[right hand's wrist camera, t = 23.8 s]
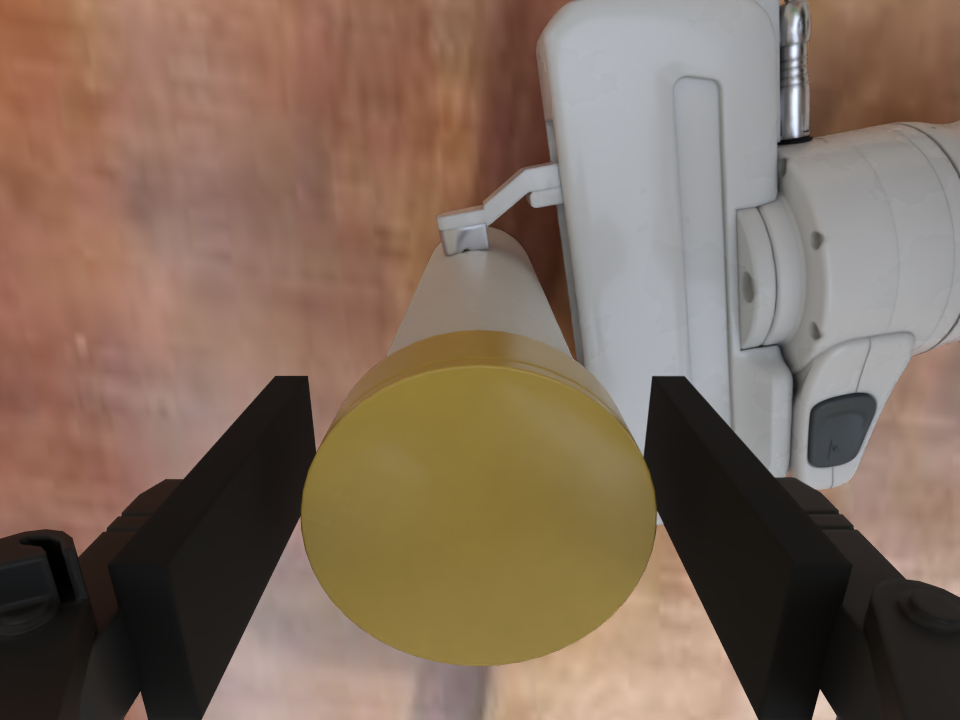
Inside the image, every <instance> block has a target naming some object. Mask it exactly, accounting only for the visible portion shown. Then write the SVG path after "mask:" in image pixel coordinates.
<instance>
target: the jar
mask: <svg viewBox="0 0 960 720" xmlns="http://www.w3.org/2000/svg"><path fill="white" fill-rule="evenodd" d="M487 232H488V238H489V246H490V249H484V250H479V251H470V250H468V249H465V250H464V251H463V252H462V253H459V254H456V255H449V256H446V255H444V252H443V247H442V243H441V242H440V243H439V245H438V246H437V247H436V248H435V250H434V252H433V253H432V255H431V257H430V259H429V262H428V264H427V266H426V268H425V271H424V273H423V275H422V277H421V280H420V282H419V284H418V286H417V289H416V291H415V293H414V296H413V298H412V300H411V302H410V305H409V307H408V309H407V311H406V314H405V316H404V318H403V320H402V323H401V325H400V327H399V329H398V332H397V334H396V336H395V338H394V341H393V343H392V345H391V347H390V350H389V352H388V354H387V356H386V358H387V357H388V356H390V355H391V354H393V353H394V352H396V351H398V350H400V349H402V348H404V347H406V346H408V345H410V344H412V343H415V342H417V341H420V340H423V339H426V338H429V337H432V336H436V335H440V334H446V333H451V332H456V331H470V330H488V331H502V332H507V333H512V334H517V335H522V336H526V337H529V338H532V339H535V340H538V341H541V342H543V343H546V344H548V345H550V346H552V347H554V348H556V349H558V350H560V351H562V352H564V353H565V354H567V355H568V356H570V357H571V358H572V355H571V353H570V351H569V348H568V346H567V344H566V342H565V339H564V337H563V335H562V332H561V330H560V328H559V326H558V323H557V321H556V319H555V316H554V314H553V312H552V310H551V307H550V305H549V303H548V301H547V298H546V296H545V294H544V291H543V289H542V287H541V285H540V282H539V280H538V278H537V275H536V273H535V271H534V269H533V266H532V264H531V262H530V259H529V257H528V255H527V253H526V252H525V250H524V249H523V247H522V246H521V245H520V244H519V243H518V241H517V240H515V239H514V238H513V237H512V236H510V235H509V234H507V233H506V232H503V231H501V230H499V229H496V228H493V227H487Z"/></svg>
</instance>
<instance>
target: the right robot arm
mask: <svg viewBox="0 0 960 720" xmlns="http://www.w3.org/2000/svg"><path fill="white" fill-rule="evenodd" d="M315 455H316V447H315V437H314V428H313V419H312V410H311V400H310V391H309V382H308V376H275V377H274V378H273V379H272V380H271V381H270V383H269V384H268V385H267V386H266V387H265V388H264V389H263V390H262V392H261V393H260V394H259V395H258V396H257V397H256V398H255V399H254V401H253V402H252V403H251V404H250V405H249V406H248V407H247V408H246V410H245V411H244V412H243V413H242V414H241V415H240V416H239V417H238V419H237V420H236V421H235V422H234V423H233V424H232V425H231V426H230V428H229V429H228V430H227V431H226V432H225V433H224V434H223V435H222V437H221V438H220V439H219V440H218V441H217V442H216V443H215V444H214V446H213V447H212V448H211V449H210V450H209V451H208V452H207V453H206V455H205V456H204V457H203V458H202V459H201V460H200V461H199V462H198V464H197V465H196V466H195V467H194V468H193V469H192V470H191V471H190V473H189V474H188V475H187V476H186V477H185V478H184V479H165V480H164V481H162V482H160V483H159V484H157V485H155V486H153V487H152V488H150V489H148V490H147V491H145V492H143V493H142V494H140V495H139V496H138V497H137V498H136V499H135V500H134V501H133V502H132V503H131V504H130V505H129V506H128V507H127V508H126V509H125V510H124V511H123V512H122V516H121V517H117V518H116V519H115V520H114V521H113V522H112V523H111V524H110V526H109V527H108V528H107V532H103V533H102V534H101V535H100V536H99V537H98V538H97V539H96V540H95V541H94V542H93V543H92V544H91V545H90V546H89V547H88V548H87V549H86V550H85V551H84V552H83V553H82V554H81V555H80V556H79V557H78V556H77V552H76V549H75V545H74V542H73V538H72V537H70V536H69V535H67V534H66V533H65V532H63V531H56V530H48V529H44V530H36V531H27V532H22V533H19V534H15V535H12V536H8V537H5V538H1V539H0V720H124V717H125V715H126V714H127V712H128V710H129V709H130V707H131V705H132V704H133V702H134V701H135V699H136V697H137V696H138V694H139V693H140V691H141V694H142V698H143V702H144V705H145V709H146V713H147V717H148V720H202V718H203V716H204V713H205V711H206V709H207V707H208V705H209V703H210V701H211V699H212V697H213V695H214V693H215V691H216V689H217V687H218V685H219V683H220V680H221V678H222V676H223V674H224V672H225V670H226V668H227V666H228V664H229V662H230V660H231V658H232V656H233V654H234V652H235V650H236V648H237V645H238V643H239V641H240V639H241V637H242V635H243V633H244V631H245V629H246V627H247V625H248V623H249V621H250V619H251V617H252V615H253V613H254V610H255V608H256V606H257V604H258V602H259V600H260V598H261V596H262V594H263V592H264V590H265V588H266V586H267V584H268V582H269V580H270V577H271V575H272V573H273V571H274V569H275V567H276V565H277V563H278V561H279V559H280V557H281V555H282V553H283V551H284V549H285V547H286V545H287V542H288V540H289V538H290V536H291V534H292V532H293V530H294V528H295V526H296V524H297V522H298V520H299V518H300V516H301V502H302V493H303V488H304V484H305V481H306V477H307V473H308V470H309V468H310V466H311V463H312V461H313V459H314V457H315ZM643 458H644V460H645V462H646V464H647V467H648V469H649V471H650V475H651V478H652V482H653V486H654V489H655V496H656V505H657V512H658V514H659V516H660V518H661V520H662V522H663V524H664V526H665V528H666V530H667V532H668V534H669V536H670V538H671V540H672V542H673V545H674V547H675V549H676V551H677V553H678V555H679V557H680V559H681V561H682V563H683V565H684V567H685V569H686V571H687V573H688V575H689V578H690V580H691V582H692V584H693V586H694V588H695V590H696V592H697V594H698V596H699V598H700V600H701V602H702V604H703V606H704V608H705V610H706V613H707V615H708V617H709V619H710V621H711V623H712V625H713V627H714V629H715V631H716V633H717V635H718V637H719V639H720V641H721V643H722V645H723V648H724V650H725V652H726V654H727V656H728V658H729V660H730V662H731V664H732V666H733V668H734V670H735V672H736V674H737V676H738V678H739V681H740V683H741V685H742V687H743V689H744V691H745V693H746V695H747V697H748V699H749V701H750V703H751V705H752V707H753V709H754V711H755V713H756V716H757V718H758V720H812V717H813V713H814V709H815V705H816V702H817V698H818V694H819V690H821V691H822V693H823V694H824V696H825V698H826V699H827V701H828V702H829V704H830V706H831V707H832V709H833V710H834V712H835V714H836V715H837V717H836V720H960V597H958V596H956V595H954V594H952V593H950V592H948V591H946V590H944V589H942V588H939V587H936V586H933V585H930V584H927V583H924V582H920V581H914V580H906V579H905V578H904V577H903V576H902V575H901V574H900V573H899V572H898V571H897V570H896V569H895V568H894V567H893V566H892V565H891V564H890V563H889V561H888V560H887V559H886V558H885V557H884V556H883V555H882V554H881V553H880V552H879V551H878V550H877V549H876V548H875V547H874V546H873V545H872V544H871V543H870V542H869V541H868V540H867V539H866V538H865V537H864V536H863V535H862V534H861V533H860V532H859V531H858V530H854V528H853V527H854V526H853V525H852V524H851V523H850V522H849V521H848V520H847V519H846V518H845V517H844V516H843V515H842V514H839V511H838V510H837V509H836V508H835V507H834V506H833V505H832V503H831V502H830V501H829V500H828V499H827V498H826V497H825V496H824V495H823V494H822V493H820V492H819V491H817V490H815V489H814V488H812V487H810V486H809V485H807V484H805V483H803V482H802V481H800V480H798V479H797V478H795V477H774V476H773V475H772V474H771V473H770V471H769V470H768V469H767V468H766V467H765V466H764V465H763V464H762V462H761V461H760V460H759V459H758V458H757V457H756V456H755V455H754V453H753V452H752V451H751V450H750V449H749V448H748V447H747V446H746V444H745V443H744V442H743V441H742V440H741V439H740V438H739V437H738V435H737V434H736V433H735V432H734V431H733V430H732V429H731V428H730V426H729V425H728V424H727V423H726V422H725V421H724V420H723V419H722V417H721V416H720V415H719V414H718V413H717V412H716V411H715V410H714V408H713V407H712V406H711V405H710V404H709V403H708V402H707V401H706V399H705V398H704V397H703V396H702V395H701V394H700V393H699V392H698V390H697V389H696V388H695V387H694V386H693V385H692V384H691V383H690V381H689V380H688V379H687V378H686V377H685V376H652V382H651V391H650V400H649V410H648V419H647V428H646V437H645V447H644V456H643Z"/></svg>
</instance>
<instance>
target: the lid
mask: <svg viewBox="0 0 960 720" xmlns="http://www.w3.org/2000/svg"><path fill="white" fill-rule="evenodd" d="M656 525H657V505H656V496H655V489H654V486H653V482H652V478H651V475H650V471H649V469H648V467H647V464H646V462H645V460H644V458H643V455H642V453H641V451H640V449H639V447H638V445H637V444H636V442H635V440H634V438H633V436H632V434H631V432H630V430H629V428H628V426H627V425H626V423H625V421H624V419H623V417H622V415H621V413H620V411H619V409H618V407H617V406H616V404H615V403H614V401H613V399H612V398H611V396H610V395H609V393H608V392H607V390H606V389H605V388H604V387H603V386H602V384H601V383H600V382H599V381H598V380H597V379H596V377H595V376H594V375H593V374H591V373H590V372H589V371H588V370H587V369H586V368H585V367H583V366H582V365H581V364H580V363H579V362H577V361H576V360H574V359H573V358H571V357H570V356H568V355H567V354H565V353H564V352H562V351H560V350H558V349H556V348H554V347H552V346H550V345H548V344H546V343H543V342H541V341H538V340H535V339H532V338H529V337H526V336H522V335H517V334H512V333H507V332H502V331H488V330H470V331H456V332H451V333H446V334H440V335H436V336H432V337H429V338H426V339H423V340H420V341H417V342H415V343H412V344H410V345H408V346H406V347H404V348H402V349H400V350H398V351H396V352H394V353H393V354H391V355H390V356H388V357H387V358H385V359H384V360H382V361H380V362H379V363H378V364H377V365H376V366H374V367H373V368H372V369H371V370H370V371H369V372H367V373H366V374H365V375H364V376H363V377H362V379H361V380H360V381H359V382H358V383H357V384H356V385H355V386H354V388H353V389H352V390H351V392H350V393H349V395H348V396H347V398H346V399H345V401H344V402H343V404H342V405H341V407H340V409H339V411H338V413H337V415H336V417H335V418H334V420H333V422H332V424H331V426H330V428H329V430H328V432H327V433H326V435H325V437H324V439H323V441H322V443H321V445H320V447H319V448H318V450H317V452H316V455H315V457H314V459H313V461H312V463H311V466H310V468H309V470H308V473H307V477H306V481H305V484H304V488H303V493H302V502H301V531H302V536H303V541H304V546H305V550H306V553H307V556H308V559H309V562H310V564H311V567H312V570H313V571H314V573H315V575H316V577H317V579H318V581H319V583H320V585H321V586H322V588H323V589H324V590H325V592H326V593H327V595H328V596H329V597H330V599H331V600H332V602H333V603H334V604H335V605H336V606H337V607H338V608H339V609H340V610H341V611H342V612H343V613H344V614H345V615H346V616H347V617H348V618H349V619H350V620H351V621H353V622H354V623H355V624H356V625H357V626H359V627H360V628H361V629H362V630H364V631H365V632H367V633H368V634H370V635H372V636H373V637H375V638H376V639H378V640H379V641H381V642H383V643H385V644H387V645H389V646H391V647H393V648H395V649H397V650H400V651H403V652H405V653H408V654H411V655H413V656H416V657H420V658H424V659H427V660H431V661H435V662H441V663H447V664H454V665H465V666H493V665H504V664H511V663H518V662H523V661H526V660H530V659H534V658H538V657H542V656H544V655H547V654H550V653H552V652H555V651H558V650H560V649H562V648H564V647H566V646H568V645H570V644H573V643H575V642H577V641H578V640H580V639H582V638H583V637H585V636H586V635H588V634H589V633H591V632H592V631H594V630H595V629H597V628H598V627H599V626H600V625H602V624H603V623H604V622H605V621H606V620H608V619H609V618H610V617H611V616H612V615H613V614H614V613H615V612H616V611H617V610H618V609H619V608H620V607H621V606H622V605H623V604H624V602H625V601H626V600H627V598H628V597H629V596H630V594H631V593H632V592H633V590H634V589H635V587H636V586H637V584H638V582H639V580H640V578H641V577H642V575H643V573H644V571H645V569H646V566H647V564H648V561H649V558H650V555H651V553H652V549H653V544H654V539H655V534H656Z"/></svg>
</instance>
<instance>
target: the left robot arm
mask: <svg viewBox="0 0 960 720" xmlns="http://www.w3.org/2000/svg"><path fill="white" fill-rule="evenodd" d="M784 2H785V4H782V5H780V6H779V0H574V1H571V2H569V3H567V4H565V5H564V6H562V7H561V8H560V9H559V10H558V11H557V12H556V13H555V14H554V15H553V17H552V18H551V19H550V20H549V22H548V23H547V25H546V26H545V28H544V30H543V31H542V33H541V35H540V37H539V39H538V42H537V45H536V57H537V65H538V72H539V80H540V87H541V95H542V102H543V110H544V117H545V125H546V132H547V140H548V147H549V155H550V162H548V163H543V164H538V165H533V166H528V167H523V168H520V169H519V170H518V171H517V172H516V173H515V174H513V175H512V176H511V177H510V178H509V179H508V180H507V181H506V182H504V183H503V184H502V185H501V186H500V187H499V188H498V189H496V190H495V191H494V192H493V193H492V194H491V195H490V196H488V197H487V198H486V199H485V200H484V201H483V205H479V206H473V207H468V208H463V209H457V210H452V211H447V212H444V213H441V214H438V215H437V217H436V218H437V224H438V229H439V234H440V238H441V243H442V247H443V252H444V255H446V256H449V255H456V254H459V253H462V252H463V251H464V250H465V249H468V250H470V251H479V250H484V249H490V246H489V238H488V232H487V227H488V226H489V225H490V224H491V223H493V222H494V221H495V220H496V219H497V218H499V217H500V216H501V215H502V214H503V213H505V212H506V211H507V210H508V209H509V208H510V207H512V206H513V205H514V204H515V203H516V202H518V201H519V200H520V199H521V198H522V197H523V196H525V195H526V198H527V201H528V202H529V204H530V205H531V206H532V207H534V208H539V207H545V206H550V205H556V207H557V215H558V222H559V230H560V237H561V245H562V252H563V260H564V267H565V275H566V282H567V290H568V297H569V305H570V312H571V320H572V327H573V335H574V342H575V350H576V358H577V362H579V363H580V364H581V365H582V366H583V367H585V368H586V369H587V370H588V371H589V372H590V373H591V374H593V375H594V376H595V377H596V379H597V380H598V381H599V382H600V383H601V384H602V386H603V387H604V388H605V389H606V390H607V392H608V393H609V395H610V396H611V398H612V399H613V401H614V403H615V404H616V406H617V407H618V409H619V411H620V413H621V415H622V417H623V419H624V421H625V423H626V425H627V426H628V428H629V430H630V432H631V434H632V436H633V438H634V440H635V442H636V444H637V445H638V447H639V449H640V451H641V453H642V455H643V456H644V447H645V437H646V428H647V419H648V410H649V400H650V391H651V382H652V376H685V377H686V378H687V379H688V380H689V381H690V383H691V384H692V385H693V386H694V387H695V388H696V389H697V390H698V392H699V393H700V394H701V395H702V396H703V397H704V398H705V399H706V401H707V402H708V403H709V404H710V405H711V406H712V407H713V408H714V410H715V411H716V412H717V413H718V414H719V415H720V416H721V417H722V419H723V420H724V421H725V422H726V423H727V424H728V425H729V426H730V428H731V429H732V430H733V431H734V432H735V433H736V434H737V435H738V437H739V438H740V439H741V440H742V441H743V442H744V443H745V444H746V446H747V447H748V448H749V449H750V450H751V451H752V452H753V453H754V455H755V456H756V457H757V458H758V459H759V460H760V461H761V462H762V464H763V465H764V466H765V467H766V468H767V469H768V470H769V471H770V473H771V474H772V475H773V476H774V477H785V476H786V473H787V474H788V475H790V476H791V477H795V478H797V479H798V480H800V481H802V482H803V483H805V484H807V485H809V486H810V487H812V488H814V489H815V490H819V489H828V488H834V487H838V486H840V485H843V484H845V483H846V482H848V481H849V480H850V479H851V478H852V476H853V475H854V473H855V472H856V470H857V468H858V466H859V463H860V461H861V458H862V456H863V453H864V451H865V448H866V446H867V443H868V441H869V439H870V436H871V434H872V431H873V429H874V427H875V425H876V422H877V420H878V418H879V416H880V414H881V411H882V409H883V407H884V405H885V403H886V401H887V399H888V397H889V395H890V394H891V392H892V390H893V388H894V386H895V384H896V383H897V381H898V379H899V378H900V376H901V375H902V373H903V371H904V370H905V368H906V366H907V365H908V363H909V361H910V359H911V356H914V355H918V354H922V353H924V352H927V351H929V350H932V349H934V348H937V347H940V346H942V345H945V344H949V343H952V342H959V341H960V120H959V121H956V122H953V123H948V124H931V123H924V122H894V123H888V124H883V125H877V126H872V127H867V128H862V129H857V130H851V131H846V132H841V133H835V134H830V135H825V136H818V137H810V83H808V81H809V75H807V73H808V67H806V65H807V64H808V63H807V58H806V57H807V51H808V42H810V36H811V15H810V8H809V5H808V1H807V0H784ZM486 225H487V226H486ZM657 525H663V522H662V520H661V518H660V516H659V514H658V512H657Z"/></svg>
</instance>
